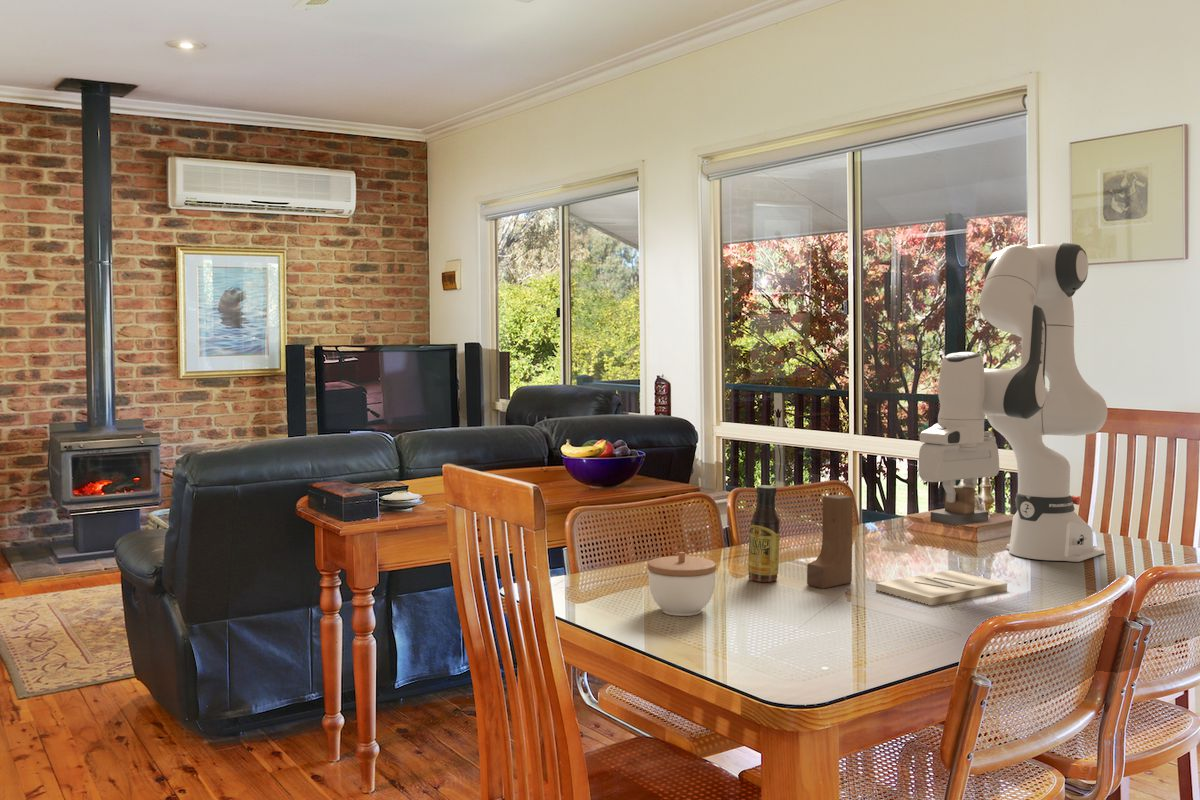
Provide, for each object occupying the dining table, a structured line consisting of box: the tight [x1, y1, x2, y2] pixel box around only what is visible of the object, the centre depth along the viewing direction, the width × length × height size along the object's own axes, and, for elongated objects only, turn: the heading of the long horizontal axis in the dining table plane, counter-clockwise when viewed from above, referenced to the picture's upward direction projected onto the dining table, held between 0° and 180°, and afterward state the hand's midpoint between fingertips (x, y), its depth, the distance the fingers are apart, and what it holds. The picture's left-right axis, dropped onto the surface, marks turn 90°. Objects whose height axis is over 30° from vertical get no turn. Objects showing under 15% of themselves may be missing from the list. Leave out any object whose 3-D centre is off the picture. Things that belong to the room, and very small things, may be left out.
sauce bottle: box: [747, 484, 781, 584], centre depth 218 cm, size 6×6×20 cm
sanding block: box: [930, 484, 989, 527], centre depth 211 cm, size 10×6×7 cm, turn 121°
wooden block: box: [806, 494, 854, 590], centre depth 215 cm, size 9×4×18 cm, turn 126°
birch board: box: [875, 569, 1008, 606], centre depth 209 cm, size 22×14×2 cm, turn 121°
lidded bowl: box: [647, 551, 717, 617], centre depth 194 cm, size 13×13×11 cm
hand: (959, 501), depth 211 cm, fingers closed on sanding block, 3 cm apart
